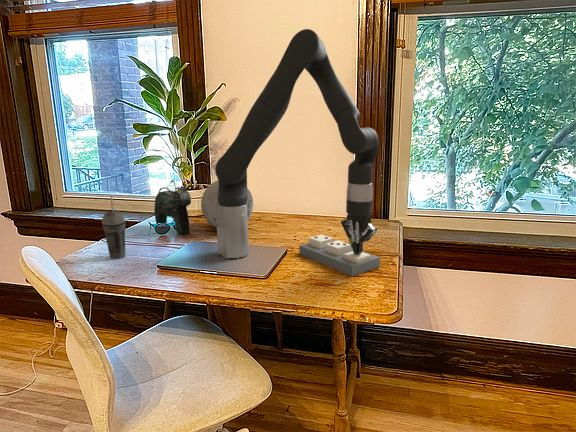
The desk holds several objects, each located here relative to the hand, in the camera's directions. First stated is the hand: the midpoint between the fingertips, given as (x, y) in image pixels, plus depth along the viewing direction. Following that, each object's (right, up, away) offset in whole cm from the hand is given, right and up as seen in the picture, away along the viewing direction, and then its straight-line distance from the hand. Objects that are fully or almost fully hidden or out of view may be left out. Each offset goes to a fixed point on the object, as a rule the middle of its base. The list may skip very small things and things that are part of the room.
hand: (357, 253), depth 133 cm
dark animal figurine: (-66, +5, +38) cm, 77 cm away
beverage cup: (-77, -2, +11) cm, 77 cm away
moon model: (-44, +6, +40) cm, 60 cm away
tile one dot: (0, -3, +1) cm, 3 cm away
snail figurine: (+2, +1, +21) cm, 22 cm away
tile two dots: (-10, +2, +12) cm, 16 cm away
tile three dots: (-5, 0, +6) cm, 8 cm away
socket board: (-5, -3, +7) cm, 9 cm away
